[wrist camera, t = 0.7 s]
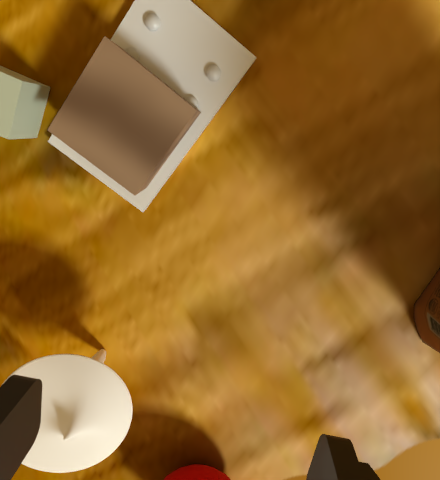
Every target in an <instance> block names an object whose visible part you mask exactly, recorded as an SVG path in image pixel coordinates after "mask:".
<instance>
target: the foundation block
mask: <svg viewBox="0 0 440 480" xmlns="http://www.w3.org/2000/svg"><path fill="white" fill-rule="evenodd" d="M200 113H201V112H200V111H199V110H198V109H196V108H195V107H194V106H192V105H191V104H190V103H189V102H188V101H186V100H185V99H184V98H183V97H182V96H180V95H179V94H178V93H177V92H175V91H174V90H173V89H172V88H170V87H169V86H168V85H167V84H165V83H164V82H163V81H162V80H161V79H159V78H158V77H157V76H156V75H154V74H153V73H152V72H151V71H149V70H148V69H147V68H146V67H145V66H143V65H142V64H141V63H140V62H138V61H137V60H136V59H135V58H133V57H132V56H131V55H130V54H128V53H127V52H126V51H125V50H124V49H122V48H121V47H120V46H118V45H117V44H115V43H114V42H113V41H111V40H110V39H108V38H107V37H105V36H104V38H103V39H102V41H101V43H100V44H99V46H98V48H97V49H96V51H95V53H94V54H93V56H92V57H91V59H90V61H89V62H88V64H87V66H86V67H85V69H84V71H83V72H82V74H81V76H80V77H79V79H78V80H77V82H76V84H75V85H74V87H73V89H72V90H71V92H70V94H69V95H68V97H67V99H66V100H65V102H64V103H63V105H62V107H61V108H60V110H59V112H58V113H57V115H56V117H55V118H54V120H53V122H52V123H51V125H50V126H49V128H48V131H49V132H50V133H52V134H53V135H54V136H56V137H57V138H58V139H60V140H61V141H62V142H64V143H65V144H66V145H68V146H69V147H70V148H72V149H73V150H74V151H76V152H77V153H78V154H80V155H81V156H82V157H84V158H85V159H86V160H88V161H89V162H90V163H92V164H93V165H94V166H96V167H97V168H98V169H100V170H101V171H102V172H104V173H105V174H106V175H108V176H109V177H110V178H112V179H113V180H114V181H116V182H117V183H118V184H120V185H121V186H122V187H124V188H125V189H126V190H128V191H129V192H130V193H132V194H133V195H134V196H135V195H137V194H138V193H140V192H141V191H143V190H144V189H146V188H147V187H148V185H149V184H150V182H151V181H152V180H153V178H154V177H155V176H156V174H157V173H158V171H159V170H160V169H161V167H162V166H163V164H164V163H165V162H166V160H167V159H168V157H169V156H170V155H171V153H172V152H173V151H174V149H175V148H176V146H177V145H178V144H179V142H180V141H181V139H182V138H183V137H184V135H185V134H186V133H187V131H188V130H189V128H190V127H191V126H192V124H193V123H194V121H195V120H196V119H197V117H198V116H199V114H200Z"/></svg>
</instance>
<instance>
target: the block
mask: <svg viewBox="0 0 440 480" xmlns="http://www.w3.org/2000/svg"><path fill="white" fill-rule="evenodd" d="M50 88H51V87H49V86H47V85H44V84H42V83H40V82H37V81H35V80H33V79H30V78H28V77H26V76H24V75H21V74H19V73H17V72H14V71H12V70H10V69H7V68H5V67H3V66H0V136H1V137H4V138H6V139H24V138H37V136H38V133H39V129H40V125H41V121H42V118H43V114H44V110H45V106H46V103H47V99H48V95H49V91H50Z"/></svg>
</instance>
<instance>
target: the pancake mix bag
mask: <svg viewBox="0 0 440 480" xmlns="http://www.w3.org/2000/svg"><path fill="white" fill-rule="evenodd" d="M414 319H415V323H416V326H417V330H418V332H419V335H420V337H421V339H422V342H423V343H425V344H427V345H428V346H430V347H431V348H433V349H434V350H436V351H438V352H439V353H440V268H439V270H438V271H437V273H436V274H435V276H434V277H433V279H432V281H431V282H430V283H429V285H428V286H427V287H426V289H425V290H424V291H423V293H422V294H421V296H420V297H419V299H418V300H417V302H416V303H415V304H414Z"/></svg>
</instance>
